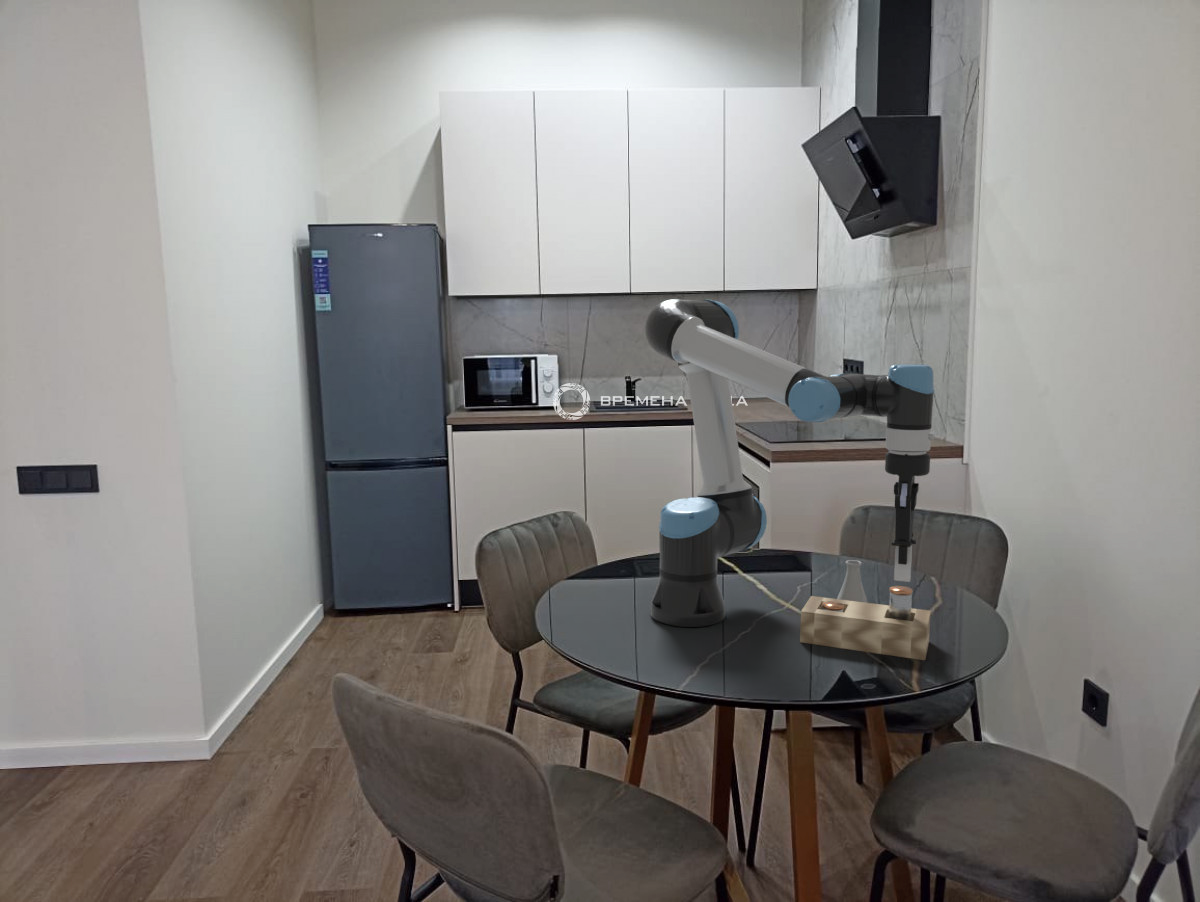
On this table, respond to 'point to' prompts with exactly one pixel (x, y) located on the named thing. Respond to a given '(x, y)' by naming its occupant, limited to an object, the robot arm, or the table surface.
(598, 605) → the table surface
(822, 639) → the oak block
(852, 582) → the flask
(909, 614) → the peg right
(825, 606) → the peg left
